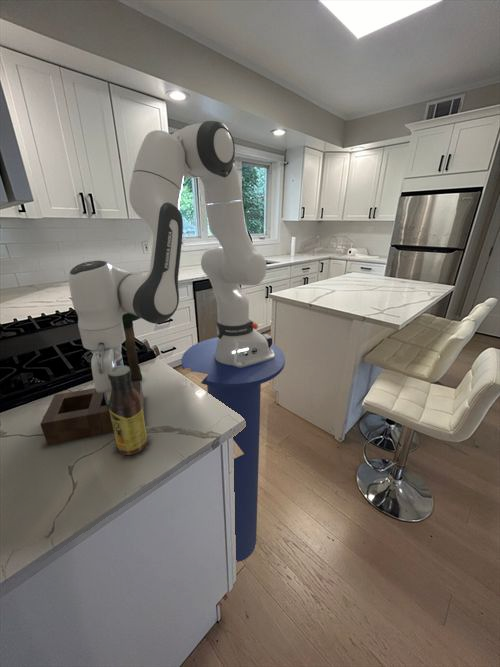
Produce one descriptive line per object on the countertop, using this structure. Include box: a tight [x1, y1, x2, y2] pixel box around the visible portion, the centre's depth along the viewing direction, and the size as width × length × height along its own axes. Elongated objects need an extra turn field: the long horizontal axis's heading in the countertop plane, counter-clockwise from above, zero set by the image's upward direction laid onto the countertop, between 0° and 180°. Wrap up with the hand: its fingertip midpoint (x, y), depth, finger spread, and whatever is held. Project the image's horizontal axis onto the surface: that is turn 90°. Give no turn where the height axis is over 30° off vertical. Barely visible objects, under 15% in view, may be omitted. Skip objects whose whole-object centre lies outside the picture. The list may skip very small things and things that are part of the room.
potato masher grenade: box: [122, 313, 143, 382], centre depth 81 cm, size 8×9×30 cm
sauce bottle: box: [108, 365, 148, 456], centre depth 58 cm, size 7×6×20 cm
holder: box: [40, 381, 145, 446], centre depth 69 cm, size 20×11×6 cm, turn 110°
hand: (114, 387), depth 68 cm, fingers open, 8 cm apart
